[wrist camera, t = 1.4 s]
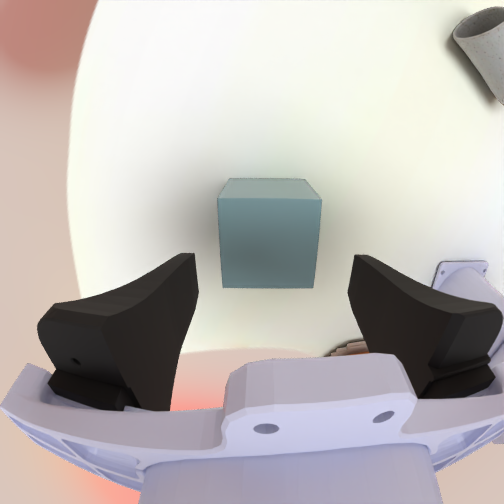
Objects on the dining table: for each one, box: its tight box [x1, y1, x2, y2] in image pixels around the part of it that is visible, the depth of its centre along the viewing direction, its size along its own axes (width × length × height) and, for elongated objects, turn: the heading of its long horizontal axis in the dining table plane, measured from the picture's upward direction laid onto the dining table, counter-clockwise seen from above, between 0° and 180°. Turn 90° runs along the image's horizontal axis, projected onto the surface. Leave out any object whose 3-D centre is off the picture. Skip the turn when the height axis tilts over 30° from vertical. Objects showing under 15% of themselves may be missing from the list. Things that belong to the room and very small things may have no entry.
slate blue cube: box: [217, 178, 322, 288], centre depth 18 cm, size 6×6×6 cm
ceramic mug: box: [453, 7, 504, 105], centre depth 9 cm, size 11×8×8 cm
